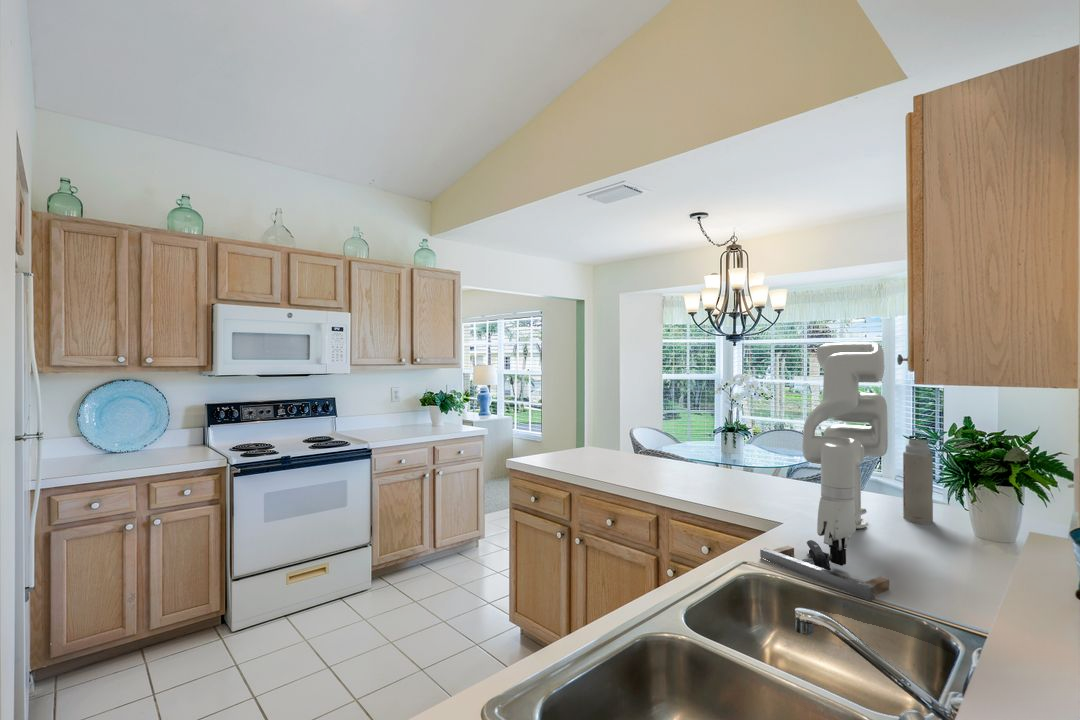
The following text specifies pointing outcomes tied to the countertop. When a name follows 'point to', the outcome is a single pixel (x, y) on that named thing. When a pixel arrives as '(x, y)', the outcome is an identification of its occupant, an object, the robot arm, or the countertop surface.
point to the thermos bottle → (918, 482)
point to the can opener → (818, 556)
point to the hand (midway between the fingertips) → (838, 563)
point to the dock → (825, 574)
